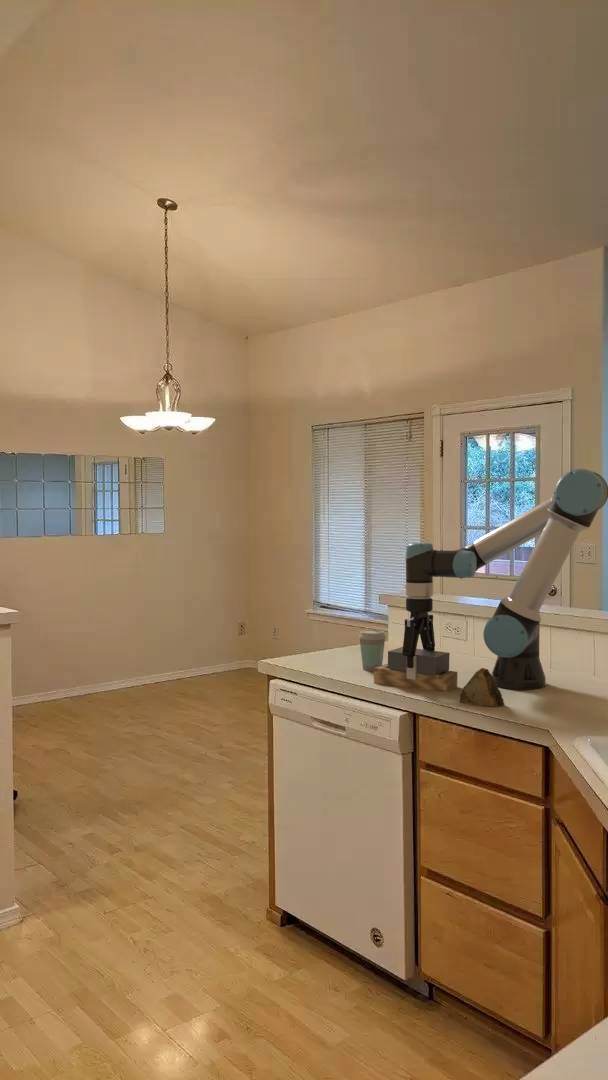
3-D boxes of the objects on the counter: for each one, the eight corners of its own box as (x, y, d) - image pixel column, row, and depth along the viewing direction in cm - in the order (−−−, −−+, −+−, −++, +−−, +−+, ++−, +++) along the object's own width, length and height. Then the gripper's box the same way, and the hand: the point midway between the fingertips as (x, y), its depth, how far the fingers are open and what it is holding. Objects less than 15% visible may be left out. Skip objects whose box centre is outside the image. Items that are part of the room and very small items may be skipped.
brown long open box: (457, 687, 241) (457, 671, 240) (445, 692, 234) (445, 676, 234) (386, 678, 253) (386, 663, 253) (373, 683, 247) (373, 668, 246)
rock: (447, 693, 223) (471, 695, 214) (461, 665, 226) (485, 666, 217) (476, 715, 226) (500, 718, 217) (490, 687, 229) (514, 689, 220)
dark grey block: (448, 682, 243) (449, 652, 242) (435, 687, 235) (436, 657, 235) (401, 675, 251) (402, 646, 250) (387, 680, 244) (388, 651, 243)
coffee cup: (384, 672, 262) (384, 634, 262) (356, 671, 264) (356, 633, 264) (387, 667, 271) (387, 630, 270) (360, 666, 272) (360, 629, 272)
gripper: (423, 593, 253) (423, 668, 254) (389, 600, 235) (389, 681, 236) (447, 594, 249) (447, 671, 250) (414, 601, 231) (414, 684, 232)
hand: (419, 676), depth 243 cm, fingers closed on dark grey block, 9 cm apart
